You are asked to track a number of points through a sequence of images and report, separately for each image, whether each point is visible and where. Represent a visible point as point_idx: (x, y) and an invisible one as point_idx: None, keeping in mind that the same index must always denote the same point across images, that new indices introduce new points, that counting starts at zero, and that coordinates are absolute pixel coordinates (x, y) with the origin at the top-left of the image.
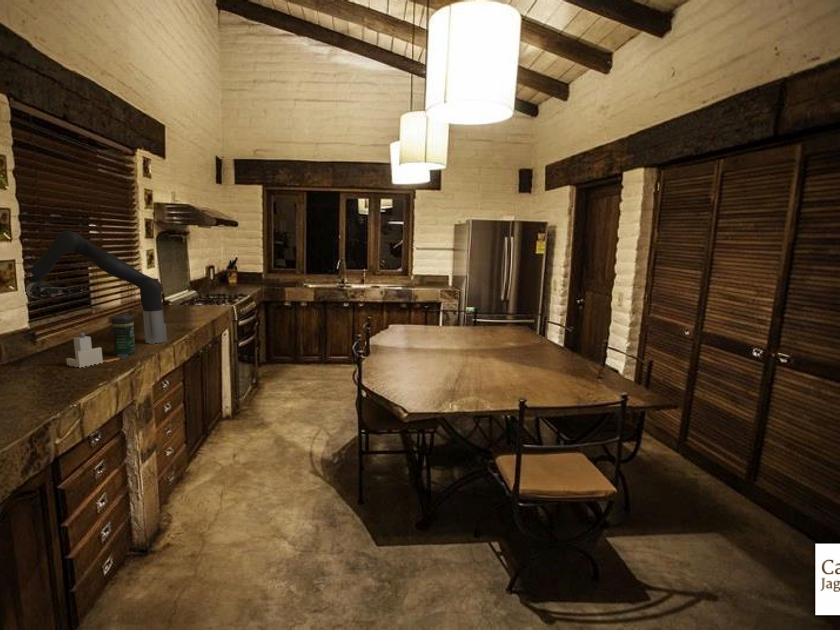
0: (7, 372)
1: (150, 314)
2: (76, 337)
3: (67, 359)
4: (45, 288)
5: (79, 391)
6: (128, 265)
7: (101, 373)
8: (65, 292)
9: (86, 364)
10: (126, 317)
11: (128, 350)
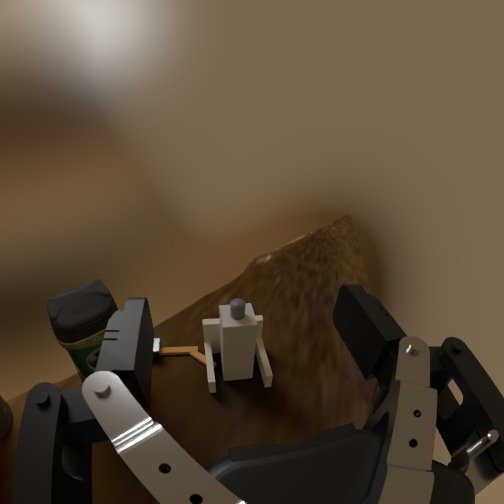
0: None
1: None
2: (249, 322)
3: (271, 372)
4: (386, 456)
5: (296, 252)
6: None
7: (245, 292)
8: (147, 373)
9: None
10: (82, 286)
11: None
